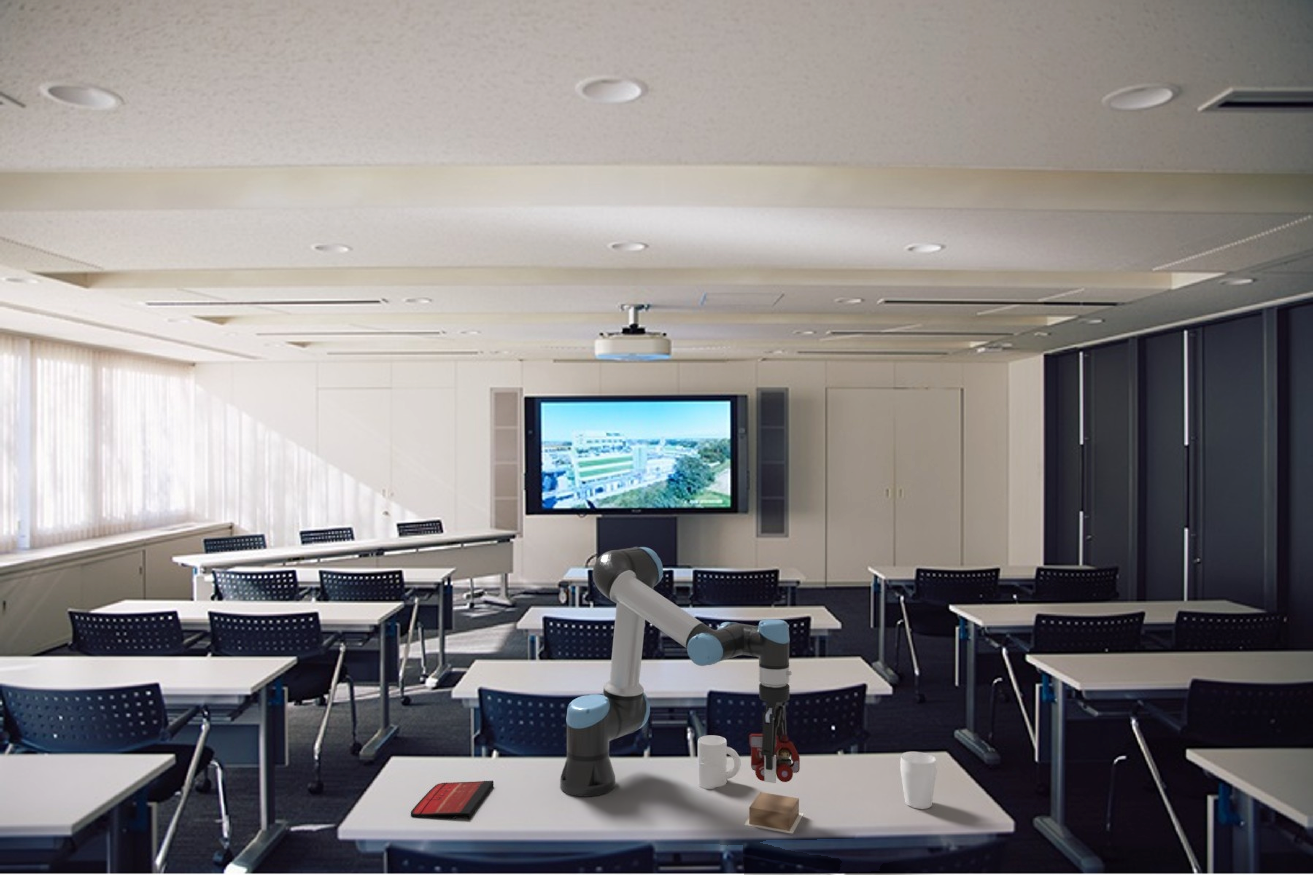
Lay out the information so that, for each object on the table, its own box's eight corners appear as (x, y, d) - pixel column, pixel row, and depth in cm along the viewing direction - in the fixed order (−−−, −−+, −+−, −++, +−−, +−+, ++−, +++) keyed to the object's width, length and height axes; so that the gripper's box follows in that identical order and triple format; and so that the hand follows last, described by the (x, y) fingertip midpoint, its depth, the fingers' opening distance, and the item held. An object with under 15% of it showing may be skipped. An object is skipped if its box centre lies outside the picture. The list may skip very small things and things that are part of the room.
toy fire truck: (800, 783, 202) (800, 740, 202) (749, 780, 203) (749, 738, 203) (799, 772, 209) (798, 730, 209) (749, 770, 210) (749, 728, 210)
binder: (493, 779, 227) (469, 812, 206) (494, 788, 227) (470, 822, 206) (436, 780, 229) (407, 812, 208) (437, 788, 229) (407, 822, 208)
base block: (749, 823, 203) (749, 807, 203) (760, 807, 212) (760, 791, 212) (789, 830, 199) (789, 814, 199) (798, 814, 208) (798, 798, 208)
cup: (936, 799, 219) (936, 753, 219) (936, 813, 211) (936, 765, 211) (901, 794, 222) (901, 749, 222) (899, 808, 214) (899, 761, 214)
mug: (740, 791, 224) (740, 746, 224) (696, 788, 226) (696, 744, 226) (741, 779, 232) (741, 736, 232) (699, 777, 234) (699, 734, 234)
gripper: (778, 695, 195) (779, 793, 195) (798, 674, 215) (799, 763, 214) (747, 692, 198) (748, 788, 198) (770, 671, 217) (770, 759, 217)
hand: (774, 775), depth 206 cm, fingers closed on toy fire truck, 8 cm apart
